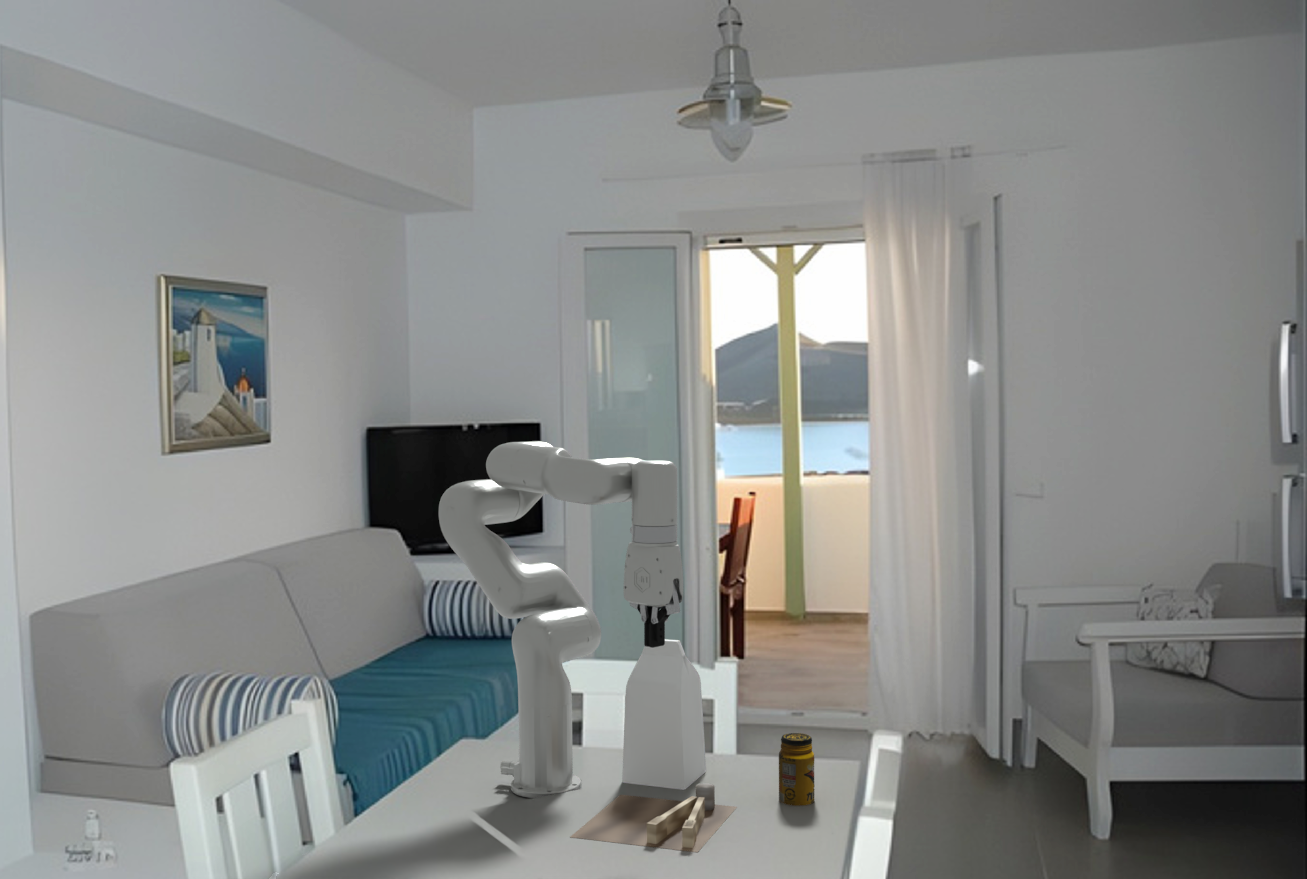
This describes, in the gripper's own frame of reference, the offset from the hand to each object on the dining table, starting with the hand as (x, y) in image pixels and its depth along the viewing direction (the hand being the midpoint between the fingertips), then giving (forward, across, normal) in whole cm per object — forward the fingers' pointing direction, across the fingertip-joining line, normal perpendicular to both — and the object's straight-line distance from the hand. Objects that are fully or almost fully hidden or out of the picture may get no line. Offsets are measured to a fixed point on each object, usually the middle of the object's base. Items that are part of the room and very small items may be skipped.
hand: (654, 645), depth 205 cm
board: (+29, +4, -3) cm, 29 cm away
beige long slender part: (+28, +10, 0) cm, 29 cm away
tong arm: (+28, +8, -4) cm, 29 cm away
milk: (+29, -12, +14) cm, 35 cm away
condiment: (+29, +13, +20) cm, 37 cm away
